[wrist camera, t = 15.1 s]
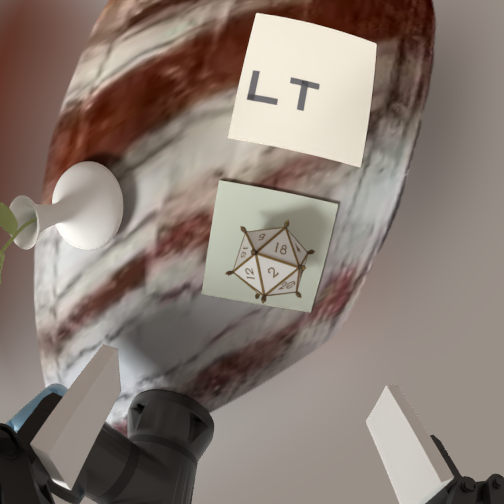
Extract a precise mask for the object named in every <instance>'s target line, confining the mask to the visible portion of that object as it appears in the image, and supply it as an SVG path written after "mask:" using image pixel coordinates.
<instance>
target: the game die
mask: <svg viewBox="0 0 504 504" xmlns="http://www.w3.org/2000/svg"><path fill="white" fill-rule="evenodd" d="M284 223H285V224H284V227H278V228H270V229H262V230H254V231H246V229H245V227H243V226H240V228H241V231H242V232H244V233H245V234H244V237H243V240H242V243H241V246H240V250H239V253H238V256H237V259H236V262H235V265H234V268H233V270H232V271H227V272H226V273H225V274H226V275H228V276H229V275H232V274H235V275H236V276H237V277H238V278H239V279H241V280H242V281H243V282H244V283H245V284H247V285H248V286H249V287H250V288H251V289H253V290H254V291H255V292H256V293H257V294H256V295H255V298H256V299H259V297H260V295H262V297H261V298H262V299H261V301H262V303H264V302H266V301H267V300H266V299H267V298H266V296H274V295H282V294H290V293H296V296H297V297H299V298H302V297H301V294H300V292H298V287H299V284H300V281H301V277H302V274H303V271H304V270H305V269H306V267H305V264H306V260H307V257H308V254H310V255H311V254H313V253H314V252H315V251H314V250H312V249H311V250H309V251H306V250H305V248H304V247H303V246H302V245H301V244H300V243H299V241H298V240H297V239H296V238H295V237H294V236H293V235H292V233H291V232H290V231H289V230H288V229H287V227H288V226H289V224H290V223H289V219H288V220H287V221H285V222H284Z"/></svg>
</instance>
